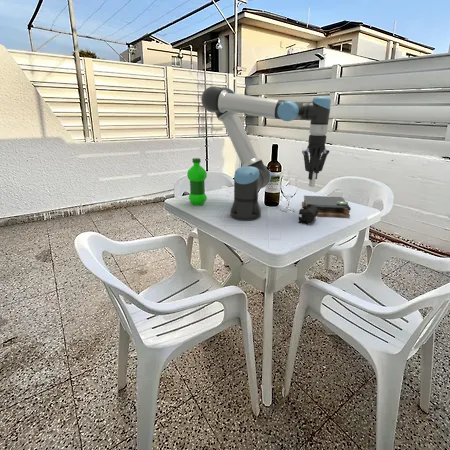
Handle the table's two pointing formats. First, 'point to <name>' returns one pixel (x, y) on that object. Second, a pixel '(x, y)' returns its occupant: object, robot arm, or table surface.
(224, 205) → the table surface
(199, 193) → the plastic bottle
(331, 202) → the tilting plate
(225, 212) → the table surface
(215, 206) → the table surface
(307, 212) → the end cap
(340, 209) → the walnut stand
